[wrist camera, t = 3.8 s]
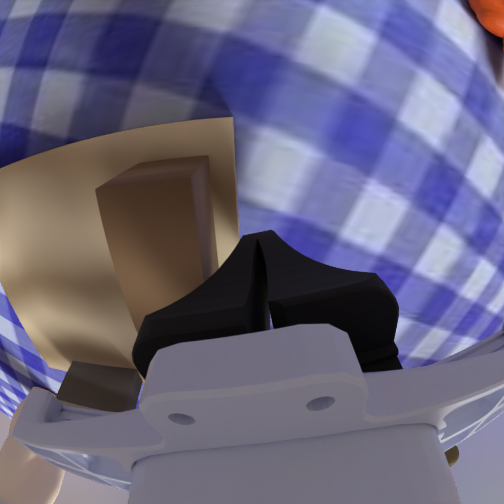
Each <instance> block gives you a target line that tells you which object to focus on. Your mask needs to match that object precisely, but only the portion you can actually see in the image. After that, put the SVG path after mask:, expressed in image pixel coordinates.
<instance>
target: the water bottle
mask: <svg viewBox="0 0 504 504" xmlns="http://www.w3.org/2000/svg"><path fill="white" fill-rule="evenodd" d="M32 389H36V390H41V391H46V392H49V393H51V394H52V395H54V396H55V397H56V396H57V395H55V394H53V393H52V392H50V391H48V390H45V389H43V388H40V387H33V388H32ZM29 393H30V392H29ZM28 395H29V394H28ZM28 395H27V397H28ZM27 397H26V398H25V399H24V400H23V401H22V402H21V404H20V405H19V406H18V408H17V409H16V411H15V413H14V415H13V418H12V421H11V424H10V429H9V436H8V438H7V439H6V441H5V443H4V445H3V446H2V449H1V451H0V504H53V503H54V501H55V499H56V497H57V495H58V493H59V491H60V488H61V484H62V481H63V477H64V473H65V470H63V469H60V468H58V467H55V466H53V465H51V464H50V463H48V462H47V461H45V460H44V459H42V458H41V457H39V456H38V455H36V454H35V453H33V452H32V451H31V450H29V449H28V448H26V447H25V446H24V445H22V444H21V443H20V442H18V441H17V440H16V439H15V438H13V437H12V435H11V434H12V431H13V429H14V426H15V424H16V422H17V419H18V417H19V415H20V412H21V410H22V408H23V405H24V403H25V401H26V399H27Z"/></svg>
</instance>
